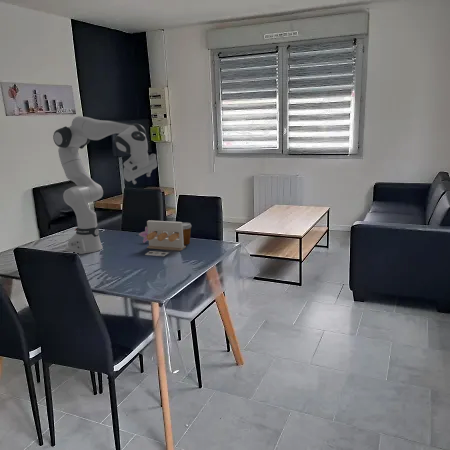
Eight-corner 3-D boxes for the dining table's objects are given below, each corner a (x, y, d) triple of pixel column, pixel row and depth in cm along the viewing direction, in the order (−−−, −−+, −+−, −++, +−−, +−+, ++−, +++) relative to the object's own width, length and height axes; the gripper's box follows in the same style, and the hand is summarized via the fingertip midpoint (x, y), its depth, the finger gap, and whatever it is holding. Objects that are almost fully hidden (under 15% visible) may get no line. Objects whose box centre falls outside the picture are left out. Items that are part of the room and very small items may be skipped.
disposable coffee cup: (188, 245, 253) (187, 226, 250) (174, 244, 256) (173, 225, 253) (194, 241, 262) (193, 222, 259) (180, 240, 265) (179, 222, 262)
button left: (146, 240, 246) (146, 234, 245) (151, 237, 252) (151, 231, 251) (152, 240, 245) (151, 234, 244) (157, 237, 251) (156, 231, 250)
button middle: (157, 240, 244) (157, 234, 243) (162, 237, 250) (162, 231, 249) (163, 241, 243) (162, 235, 242) (168, 238, 249) (167, 232, 248)
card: (145, 254, 240) (145, 253, 239) (150, 251, 245) (150, 250, 245) (164, 256, 236) (164, 255, 236) (168, 253, 241) (168, 252, 241)
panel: (147, 248, 252) (144, 222, 248) (152, 244, 258) (150, 219, 254) (180, 250, 245) (179, 223, 241) (185, 247, 251) (184, 221, 247)
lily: (137, 242, 268) (134, 231, 261) (151, 231, 274) (148, 221, 267) (150, 251, 262) (147, 240, 255) (164, 240, 268) (161, 229, 261)
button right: (168, 241, 242) (168, 235, 241) (173, 238, 248) (172, 232, 247) (174, 241, 241) (173, 235, 240) (178, 238, 247) (178, 232, 246)
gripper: (152, 149, 230) (153, 169, 240) (120, 164, 220) (123, 184, 230) (159, 155, 227) (160, 174, 238) (127, 170, 217) (130, 190, 227)
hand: (141, 179), depth 234 cm, fingers open, 8 cm apart
